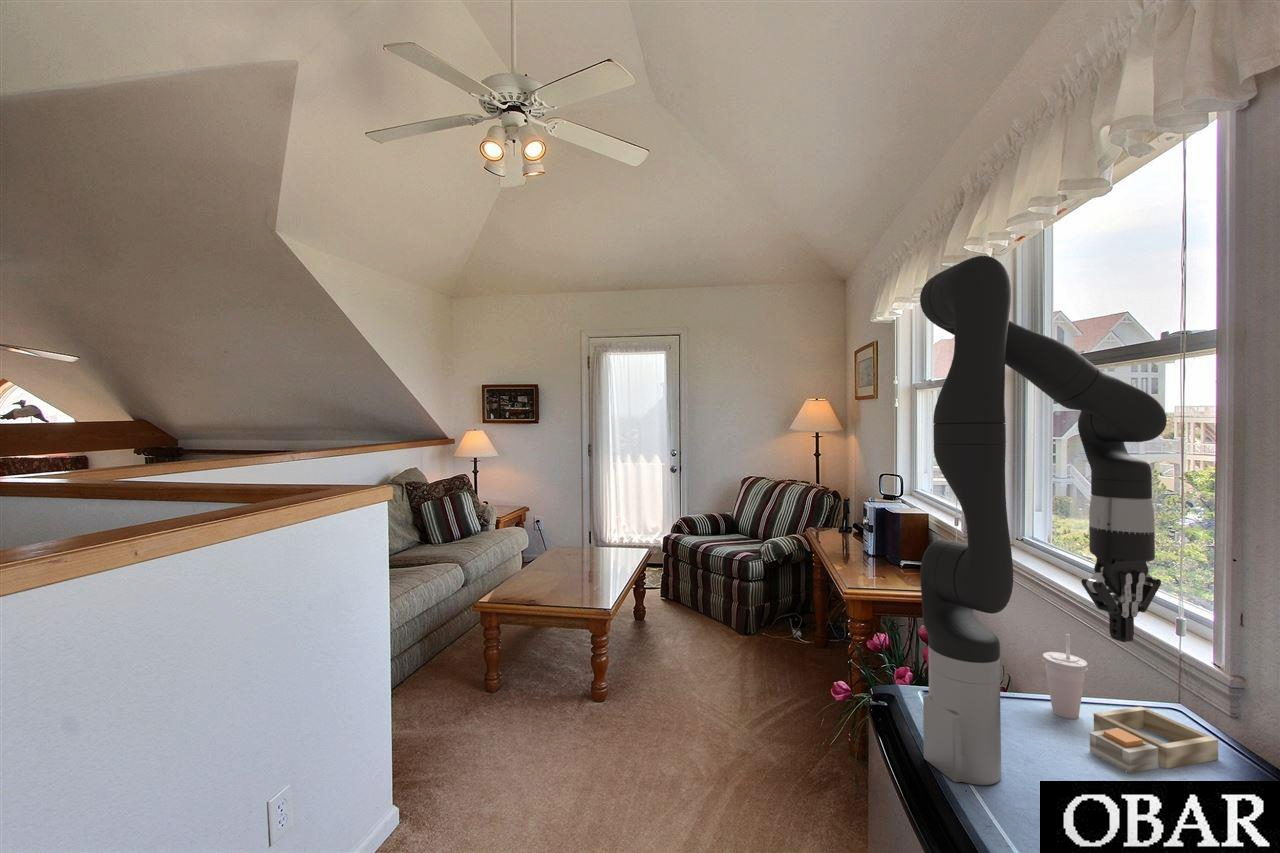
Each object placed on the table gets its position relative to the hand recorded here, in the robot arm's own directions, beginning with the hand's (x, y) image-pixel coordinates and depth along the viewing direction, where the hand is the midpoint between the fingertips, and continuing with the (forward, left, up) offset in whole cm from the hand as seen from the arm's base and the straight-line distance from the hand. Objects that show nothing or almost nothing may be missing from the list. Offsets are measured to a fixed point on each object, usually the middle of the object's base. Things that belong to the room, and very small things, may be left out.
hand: (1121, 639), depth 83 cm
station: (+6, +2, -18) cm, 19 cm away
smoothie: (+5, +13, -18) cm, 23 cm away
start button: (0, 0, -17) cm, 17 cm away
